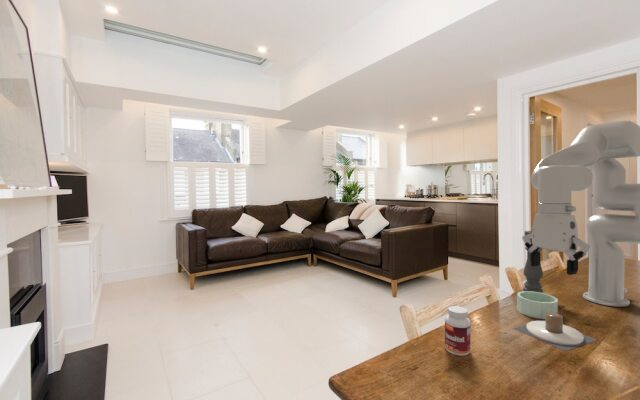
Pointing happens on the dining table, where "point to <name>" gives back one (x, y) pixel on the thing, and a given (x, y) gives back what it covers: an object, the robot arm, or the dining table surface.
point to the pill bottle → (457, 331)
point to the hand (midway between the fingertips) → (552, 269)
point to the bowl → (536, 304)
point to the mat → (562, 347)
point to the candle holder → (532, 273)
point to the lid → (555, 330)
